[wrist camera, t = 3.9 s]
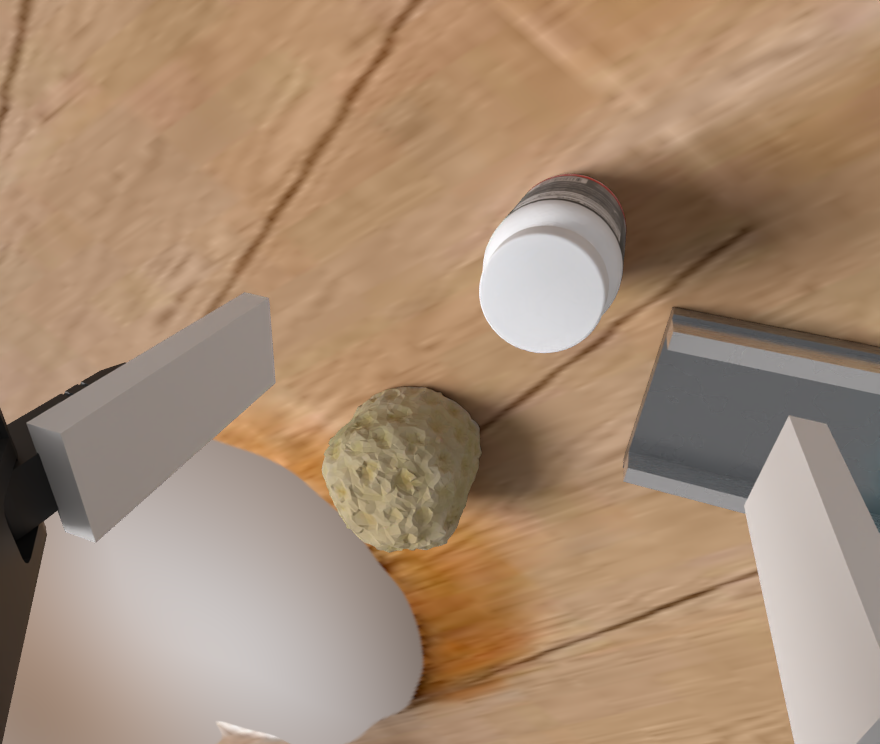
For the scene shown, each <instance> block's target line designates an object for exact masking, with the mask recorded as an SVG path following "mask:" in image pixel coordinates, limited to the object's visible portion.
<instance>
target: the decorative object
mask: <svg viewBox="0 0 880 744" xmlns="http://www.w3.org/2000/svg"><path fill="white" fill-rule="evenodd" d="M479 431H480V428H479V426H478V424H477V422H475V421H474V420H472V419H471V417H470V414H469V413H468V412H467V411H466V410H465V409H464V408H462V407H461V406H460V405H459V404H458V403H457V402H455V401H453V400H451V399H448V398H446V397H444V396H443V395H442V393H441V392H435V391H433V390H431V389H428V388H427V387H398V388H393V389H387V390H385V391H383V392H380V393H378V394H375V395H374V396H372V397H371V398H370V399H369V400H367V401H366V402H365V403H363V404H362V405H360V406H359V407H358V408H357V410H356V412H355V414H354V417H353V418H352V420H351V421H350V422H349V423H348V424H346V425H345V426H344V427H343V428H341V429H340V430H339V431H338V432H337V434H336V435H335V436H334V437H332V438H331V439H330V441H329V445H330V446H329V447H328V448H327V450H326V451H325V453H324V455H325V458H324V462H323V466H322V474H323V477H324V479H325V481H326V484H327V488H328V490H329V494H330V496H331V498H332V500H333V502H334V505H335V506H336V508H337V509H338V513H339V515H340V517H342V519H343V521H344V523H345V524H346V525H347V528H349V529H352V531H353V532H354V533H355V534H356V535H357V537H359V538H360V539H361V540H362V541H363V542H365V543H368V544H371V545H373V546H375V547H376V549H378V550H384V551H387V552H389V553H390V552H393V551H397V550H400V551H402V550H403V549H407V548H408V549H409V550H415V549H416V548H417V549H422V550H428V549H430V548H432V547H436V546H441V545H444V544H446V543H447V540H448V539H449V538H450V537H451V535H452V534H453V533H454V531H455V529H456V528H457V526H458V523H459V519H460V517H461V515H462V512H463V509H464V507H465V506H466V502H467V496H468V492H469V491H470V487H471V485H472V483H473V482H474V480H475V477H476V473H477V471H478V467H479V460H478V459H479V457H480V456H481V455H482V454H481V448H480V434H479Z"/></svg>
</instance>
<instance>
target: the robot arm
mask: <svg viewBox="0 0 880 744" xmlns="http://www.w3.org/2000/svg"><path fill="white" fill-rule="evenodd" d="M274 384H275V370H274V357H273V343H272V330H271V317H270V304H269V298H267V297H263V296H258V295H254V294H250V293H245V292H244V293H243V294H241V295H239V296H238V297H236V298H234V299H233V300H231V301H229V302H228V303H226V304H224V305H223V306H221V307H219V308H218V309H216V310H214V311H213V312H211V313H209V314H208V315H206V316H204V317H203V318H201V319H199V320H198V321H196V322H194V323H193V324H191V325H189V326H187V327H186V328H184V329H182V330H181V331H179V332H177V333H176V334H174V335H172V336H171V337H169V338H167V339H166V340H164V341H162V342H161V343H159V344H157V345H156V346H154V347H152V348H151V349H149V350H147V351H146V352H144V353H142V354H141V355H139V356H137V357H136V358H134V359H132V360H131V361H129V362H127V363H122V364H119V365H116V366H113V367H110V368H107V369H104V370H101V371H99V372H97V373H96V374H94V375H92V376H90V377H89V378H87V379H85V380H84V381H82V382H81V384H80V385H78V384H77V385H75V386H73V387H72V388H70V389H68V390H66V391H65V394H64V395H63V394H60V395H58V396H56V397H54V398H53V399H51V400H49V401H48V402H46V403H44V404H42V405H41V406H39V407H37V408H36V409H34V410H32V411H30V412H29V413H27V414H25V415H24V416H22V417H20V418H18V419H17V420H15V421H13V422H12V423H10V424H8V425H7V424H6V422H5V419H4V417H3V414H2V411H1V409H0V744H2V741H3V736H4V731H5V727H6V722H7V717H8V713H9V708H10V703H11V698H12V694H13V690H14V685H15V680H16V675H17V671H18V666H19V662H20V657H21V652H22V648H23V643H24V639H25V634H26V629H27V625H28V620H29V615H30V610H31V606H32V601H33V597H34V592H35V587H36V583H37V578H38V573H39V569H40V564H41V560H42V555H43V550H44V546H45V541H46V536H47V533H46V526H45V524H44V520H46V519H47V518H48V517H49V516H51V515H52V514H53V513H54V512H56V511H57V510H58V513H59V516H60V518H61V521H62V524H63V527H64V530H65V532H68V533H70V534H73V535H76V536H79V537H81V538H84V539H87V540H90V541H93V542H97V541H98V540H99V539H101V538H102V537H103V536H104V535H105V534H106V533H107V532H108V531H110V530H111V528H113V527H114V526H115V525H116V524H117V523H118V522H120V521H121V520H122V519H123V518H124V517H125V516H126V515H127V514H129V513H130V512H131V511H132V510H133V509H134V508H135V507H136V506H138V505H139V504H140V503H141V502H142V501H143V500H144V499H145V498H147V497H148V496H149V495H150V494H151V493H152V492H153V491H154V490H156V489H157V488H158V487H159V486H160V485H161V484H162V483H163V482H164V481H166V480H167V479H168V478H169V477H170V476H171V475H172V474H173V473H175V472H176V471H177V470H178V469H179V468H180V467H181V466H183V465H184V464H185V463H186V462H187V461H188V460H189V459H190V458H191V457H193V456H194V455H195V454H196V453H197V452H198V451H199V450H201V449H202V448H203V447H204V446H205V445H206V444H207V443H208V442H210V441H211V440H212V439H213V438H214V437H215V436H216V435H217V434H219V433H220V432H221V431H222V430H223V429H224V428H225V427H226V426H228V425H229V424H230V423H231V422H232V421H233V420H234V419H235V418H237V417H238V416H239V415H240V414H241V413H242V412H243V411H244V410H246V409H247V408H248V407H249V406H250V405H251V404H252V403H253V402H254V401H256V400H257V399H258V398H259V397H260V396H261V395H262V394H263V393H265V392H266V391H267V390H268V389H269V388H270V387H271V386H272V385H274ZM744 508H745V513H746V518H747V522H748V527H749V532H750V536H751V541H752V546H753V551H754V555H755V560H756V565H757V569H758V574H759V579H760V584H761V588H762V593H763V598H764V602H765V607H766V612H767V616H768V621H769V626H770V631H771V635H772V640H773V645H774V649H775V654H776V659H777V663H778V668H779V673H780V678H781V682H782V687H783V692H784V696H785V701H786V706H787V710H788V715H789V720H790V725H791V729H792V734H793V739H794V743H795V744H880V534H879V532H878V529H877V527H876V525H875V523H874V521H873V519H872V517H871V515H870V513H869V511H868V509H867V507H866V505H865V503H864V500H863V498H862V496H861V494H860V492H859V490H858V488H857V486H856V484H855V482H854V480H853V478H852V476H851V473H850V471H849V469H848V467H847V465H846V463H845V461H844V459H843V457H842V455H841V453H840V451H839V449H838V446H837V444H836V442H835V440H834V438H833V436H832V434H831V432H830V430H829V428H828V426H827V424H825V423H821V422H816V421H812V420H807V419H803V418H799V417H794V416H790V415H789V416H788V418H787V420H786V422H785V424H784V426H783V428H782V430H781V432H780V434H779V436H778V438H777V440H776V442H775V444H774V446H773V448H772V450H771V452H770V454H769V456H768V458H767V460H766V462H765V464H764V466H763V468H762V470H761V472H760V475H759V477H758V479H757V481H756V483H755V485H754V487H753V489H752V491H751V493H750V495H749V497H748V499H747V501H746V503H745V505H744Z"/></svg>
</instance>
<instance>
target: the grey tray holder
mask: <svg viewBox="0 0 880 744" xmlns="http://www.w3.org/2000/svg"><path fill="white" fill-rule="evenodd" d="M789 415H790V416H794V417H799V418H803V419H807V420H812V421H816V422H821V423H825V424H827V426H828V428H829V430H830V432H831V434H832V436H833V438H834V440H835V442H836V444H837V446H838V449H839V451H840V453H841V455H842V457H843V459H844V461H845V463H846V465H847V467H848V469H849V471H850V473H851V476H852V478H853V480H854V482H855V484H856V486H857V488H858V490H859V492H860V494H861V496H862V498H863V500H864V503H865V505H866V507H867V509H868V511H869V513H870V515H871V517H872V519H873V521H874V523H875V525H876V527H877V529H878V532H879V534H880V347H876V346H871V345H866V344H861V343H856V342H851V341H845V340H840V339H835V338H830V337H825V336H820V335H815V334H809V333H804V332H799V331H794V330H789V329H784V328H779V327H774V326H768V325H763V324H758V323H753V322H748V321H743V320H738V319H732V318H727V317H722V316H717V315H712V314H707V313H702V312H696V311H691V310H686V309H681V308H676V307H673V308H672V311H671V314H670V317H669V320H668V323H667V326H666V329H665V332H664V335H663V339H662V342H661V345H660V348H659V351H658V354H657V357H656V360H655V363H654V366H653V369H652V372H651V375H650V379H649V382H648V385H647V388H646V391H645V394H644V397H643V400H642V403H641V406H640V409H639V412H638V415H637V418H636V422H635V425H634V428H633V431H632V434H631V437H630V440H629V443H628V446H627V449H626V452H625V455H624V462H623V468H624V479H623V481H624V482H627V483H631V484H635V485H639V486H643V487H646V488H650V489H654V490H658V491H662V492H665V493H669V494H673V495H677V496H680V497H684V498H688V499H692V500H696V501H699V502H703V503H707V504H711V505H714V506H718V507H722V508H726V509H730V510H733V511H737V512H741V513H745V508H744V505H745V503H746V501H747V499H748V497H749V495H750V493H751V491H752V489H753V487H754V485H755V483H756V481H757V479H758V477H759V475H760V472H761V470H762V468H763V466H764V464H765V462H766V460H767V458H768V456H769V454H770V452H771V450H772V448H773V446H774V444H775V442H776V440H777V438H778V436H779V434H780V432H781V430H782V428H783V426H784V424H785V422H786V420H787V418H788V416H789ZM745 514H746V513H745Z"/></svg>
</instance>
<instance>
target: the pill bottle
mask: <svg viewBox="0 0 880 744" xmlns="http://www.w3.org/2000/svg"><path fill="white" fill-rule="evenodd" d="M625 242H626V221H625V216H624V212H623V209H622V207H621V204H620V203H619V201H618V199H617V198H616V196H615V195H614V194H613V192H612V191H611V190H610V189H609V188H607V187H606V186H605V185H604V184H602V183H601V182H599V181H597V180H595V179H593V178H590V177H588V176H584V175H578V174H562V175H557V176H554V177H550V178H548V179H546V180H544V181H542V182H540V183H538V184H537V185H535V186H534V187H533V188H532V189H530V190H529V191H528V193H527V194H526V195H525V196H524V197H523V198H522V199H521V201H520V202H519V203H518V204H517V205H516V207H515V208H514V209H513V210H512V211H511V212H510V213H509V214H508V216H507V217H506V218H505V219H504V220H503V221H502V222H501V224H500V225H499V226H498V227H497V229H496V230H495V232H494V233H493V235H492V237H491V238H490V240H489V243H488V245H487V248H486V251H485V255H484V261H483V272H482V275H481V279H480V286H479V298H480V303H481V307H482V310H483V313H484V316H485V318H486V320H487V321H488V323H489V324H490V326H491V327H492V329H493V330H494V331H495V332H496V333H497V334H498V335H499V336H500V337H501V338H502V339H504V340H505V341H506V342H508V343H510V344H511V345H513V346H515V347H518V348H520V349H523V350H526V351H530V352H535V353H551V352H558V351H562V350H565V349H568V348H570V347H573V346H575V345H576V344H578V343H580V342H581V341H582V340H584V339H585V338H586V337H587V336H588V335H589V334H590V333H591V332H592V331H593V330H594V329H595V327H596V326H597V324H598V323H599V321H600V319H601V316H602V315H603V314H604V313H605V312H606V311H607V309H608V308H609V307H610V305H611V304H612V302H613V301H614V299H615V297H616V295H617V292H618V290H619V287H620V283H621V280H622V274H623V263H624V252H625Z"/></svg>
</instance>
